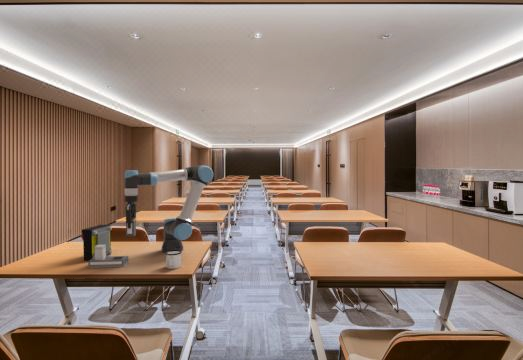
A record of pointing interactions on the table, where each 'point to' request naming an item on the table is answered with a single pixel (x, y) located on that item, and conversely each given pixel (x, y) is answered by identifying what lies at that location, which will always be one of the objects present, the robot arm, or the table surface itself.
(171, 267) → the mug
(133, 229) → the plug
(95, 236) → the electrical component
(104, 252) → the white rectangular block
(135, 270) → the table surface
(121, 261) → the pdu strip
